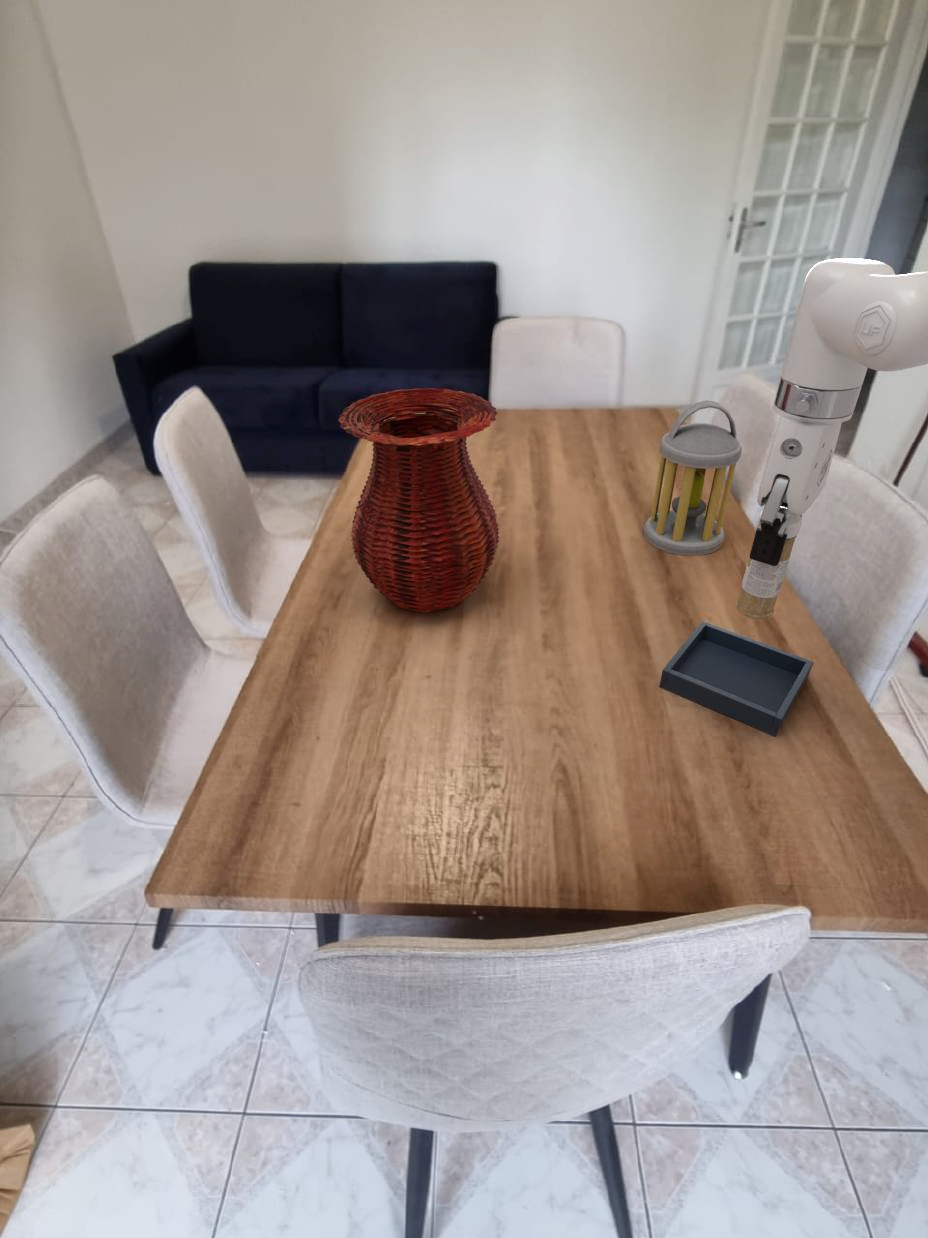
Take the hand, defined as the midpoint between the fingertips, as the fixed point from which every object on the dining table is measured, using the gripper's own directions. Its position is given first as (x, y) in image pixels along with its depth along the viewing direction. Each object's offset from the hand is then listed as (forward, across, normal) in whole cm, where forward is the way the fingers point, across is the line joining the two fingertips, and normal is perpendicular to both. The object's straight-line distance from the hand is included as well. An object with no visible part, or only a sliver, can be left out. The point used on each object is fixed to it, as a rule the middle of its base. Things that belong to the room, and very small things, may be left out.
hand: (771, 550), depth 79 cm
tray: (+21, +1, 0) cm, 21 cm away
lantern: (+22, +35, +22) cm, 47 cm away
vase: (+22, -6, +49) cm, 54 cm away
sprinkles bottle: (+9, 0, 0) cm, 9 cm away
